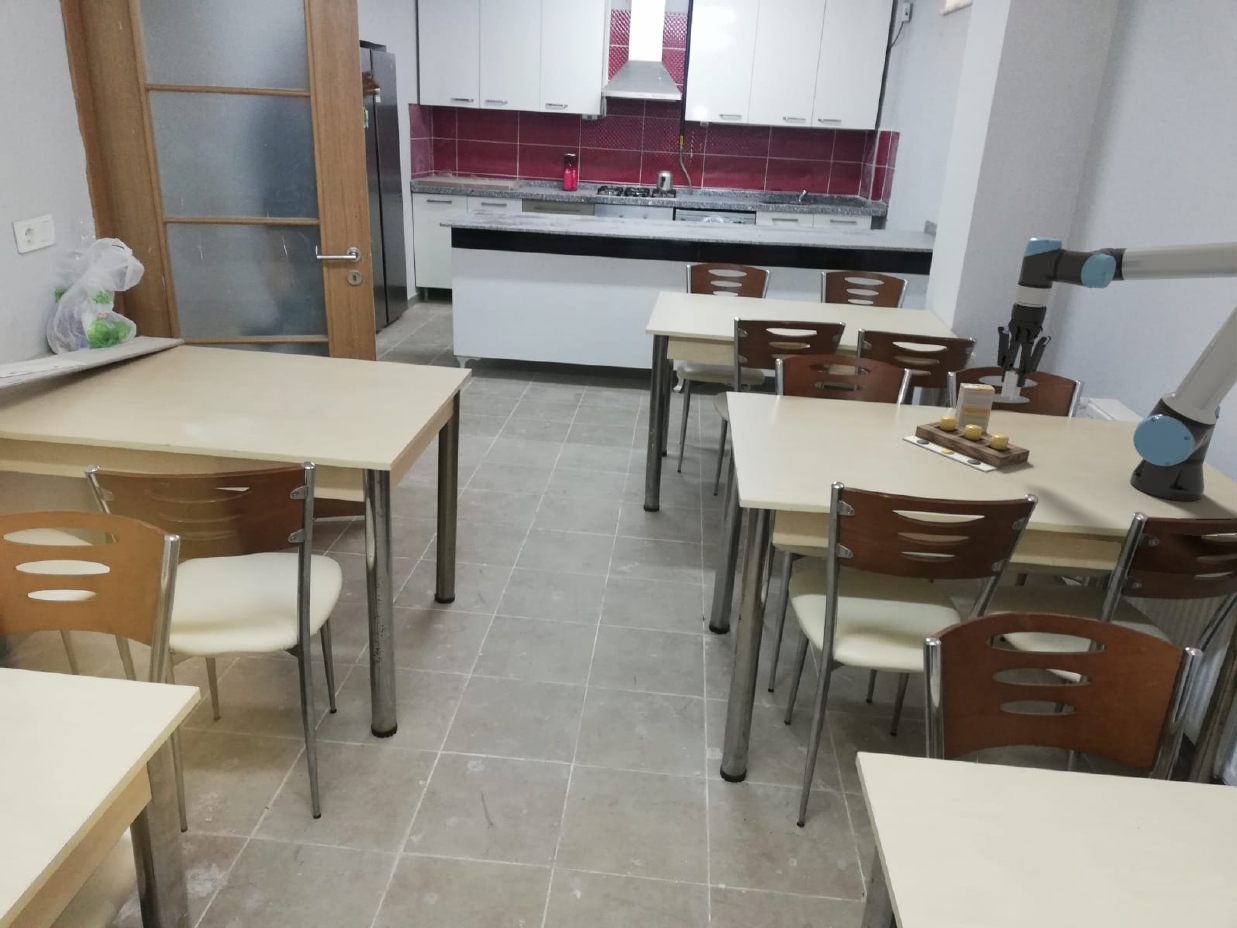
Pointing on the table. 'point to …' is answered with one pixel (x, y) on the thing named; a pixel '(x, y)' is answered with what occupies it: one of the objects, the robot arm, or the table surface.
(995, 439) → the button
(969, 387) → the supplement box
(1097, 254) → the robot arm
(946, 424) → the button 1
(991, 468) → the card
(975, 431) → the button mid
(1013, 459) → the board
